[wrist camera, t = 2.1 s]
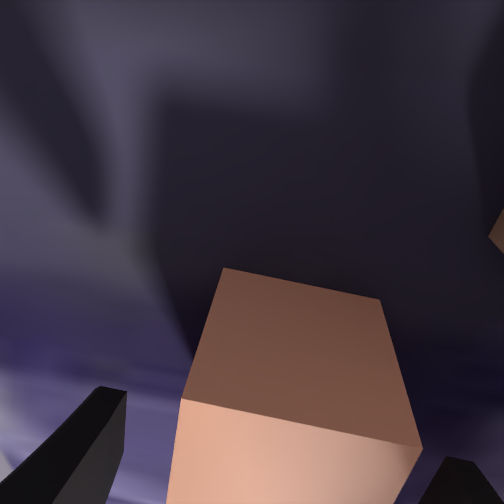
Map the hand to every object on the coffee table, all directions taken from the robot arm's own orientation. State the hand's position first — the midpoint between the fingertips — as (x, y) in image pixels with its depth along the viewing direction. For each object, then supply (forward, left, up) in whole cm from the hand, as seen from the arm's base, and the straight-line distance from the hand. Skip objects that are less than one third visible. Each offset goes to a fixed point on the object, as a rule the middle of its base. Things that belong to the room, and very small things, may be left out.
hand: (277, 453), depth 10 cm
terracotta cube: (0, 0, -4) cm, 4 cm away
